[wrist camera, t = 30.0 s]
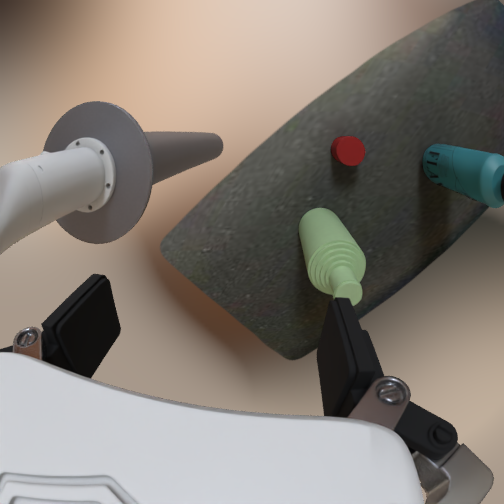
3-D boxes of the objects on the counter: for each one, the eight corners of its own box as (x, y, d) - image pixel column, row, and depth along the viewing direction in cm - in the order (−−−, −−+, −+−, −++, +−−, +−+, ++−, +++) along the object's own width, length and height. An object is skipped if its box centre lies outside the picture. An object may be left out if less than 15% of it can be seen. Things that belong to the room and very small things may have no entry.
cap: (361, 142, 35) (369, 143, 31) (352, 167, 36) (359, 170, 33) (335, 132, 35) (342, 131, 31) (327, 157, 36) (332, 159, 33)
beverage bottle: (414, 142, 34) (505, 158, 15) (447, 141, 33) (538, 160, 14) (417, 184, 36) (503, 225, 18) (449, 181, 35) (535, 219, 17)
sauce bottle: (291, 238, 41) (301, 310, 25) (310, 200, 39) (336, 251, 22) (328, 255, 42) (357, 331, 25) (347, 219, 39) (394, 279, 23)
